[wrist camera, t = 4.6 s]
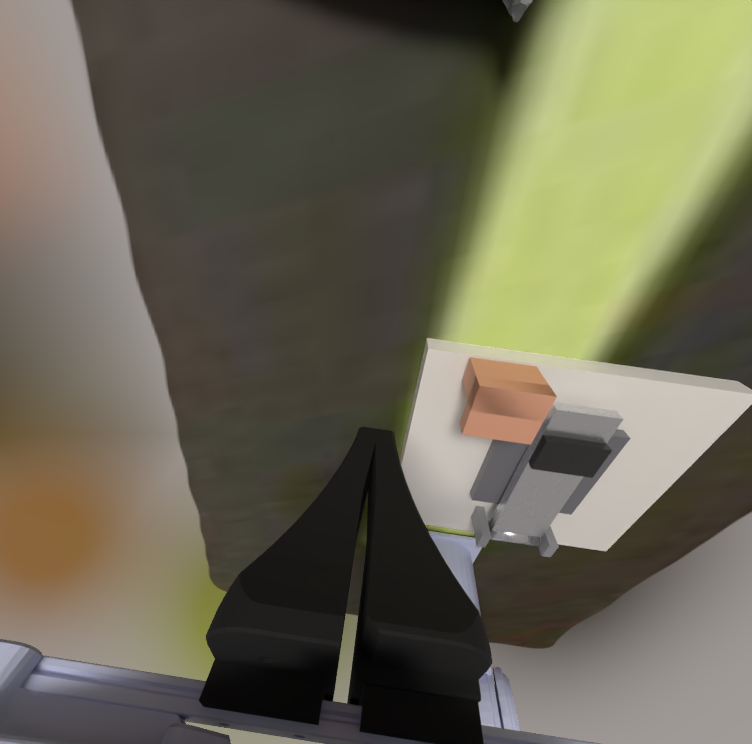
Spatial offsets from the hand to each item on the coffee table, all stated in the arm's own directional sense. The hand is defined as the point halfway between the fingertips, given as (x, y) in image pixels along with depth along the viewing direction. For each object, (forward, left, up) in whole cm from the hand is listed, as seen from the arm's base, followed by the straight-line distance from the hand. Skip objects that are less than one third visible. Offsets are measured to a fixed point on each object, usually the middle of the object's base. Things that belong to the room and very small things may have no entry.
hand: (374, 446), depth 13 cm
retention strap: (-8, -13, -7) cm, 17 cm away
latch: (-1, -7, -8) cm, 10 cm away
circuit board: (-8, -13, -9) cm, 18 cm away
